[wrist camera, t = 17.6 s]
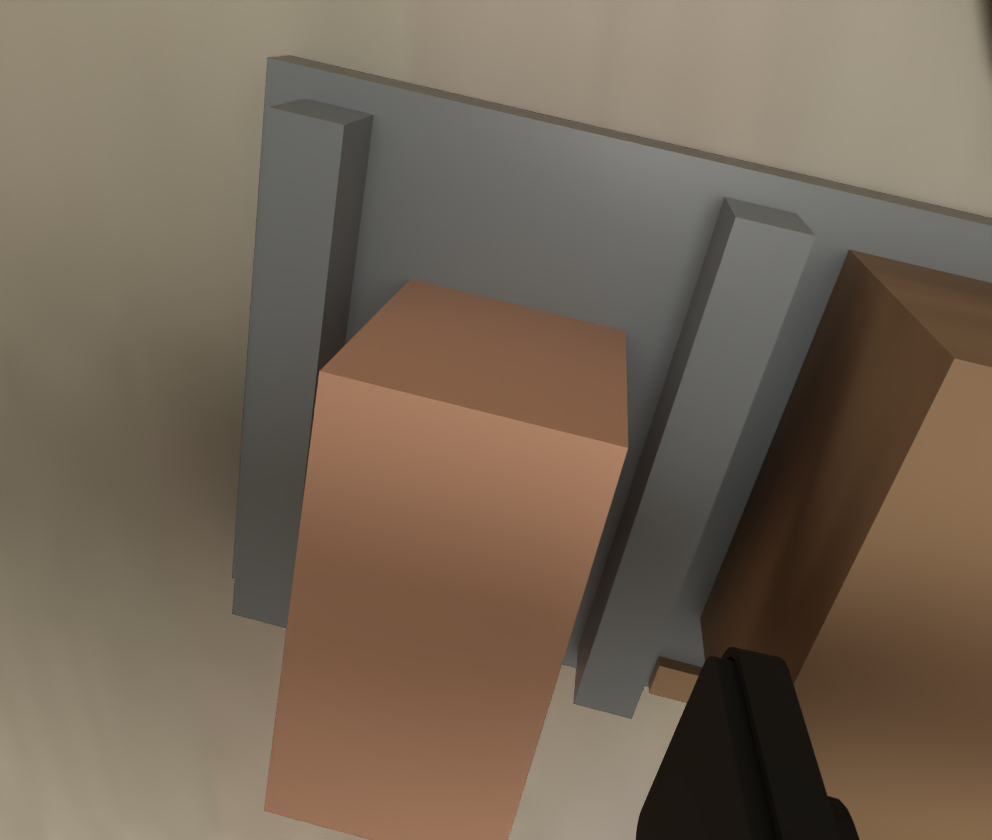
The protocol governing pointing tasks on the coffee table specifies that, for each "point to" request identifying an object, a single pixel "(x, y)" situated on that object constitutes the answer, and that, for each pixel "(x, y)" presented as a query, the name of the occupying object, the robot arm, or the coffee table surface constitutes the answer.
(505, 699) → the terracotta bar
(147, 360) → the coffee table surface
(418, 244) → the slot rack
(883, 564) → the walnut bar
